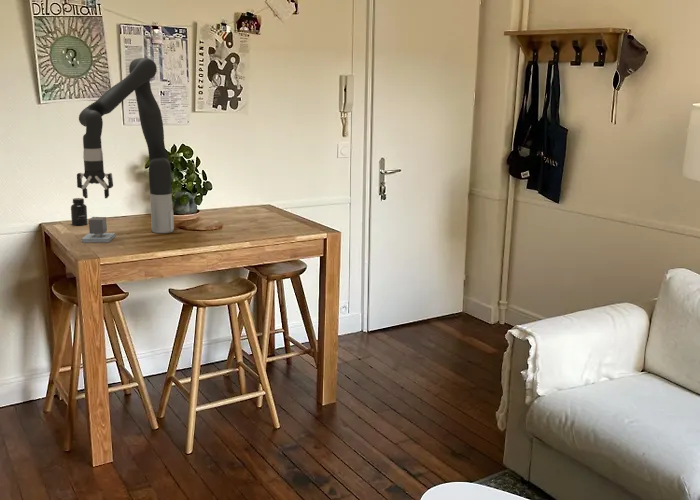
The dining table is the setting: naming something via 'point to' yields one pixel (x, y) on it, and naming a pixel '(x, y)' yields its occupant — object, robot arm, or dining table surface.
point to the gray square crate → (97, 225)
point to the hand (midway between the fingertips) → (96, 197)
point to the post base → (98, 238)
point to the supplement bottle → (79, 212)
